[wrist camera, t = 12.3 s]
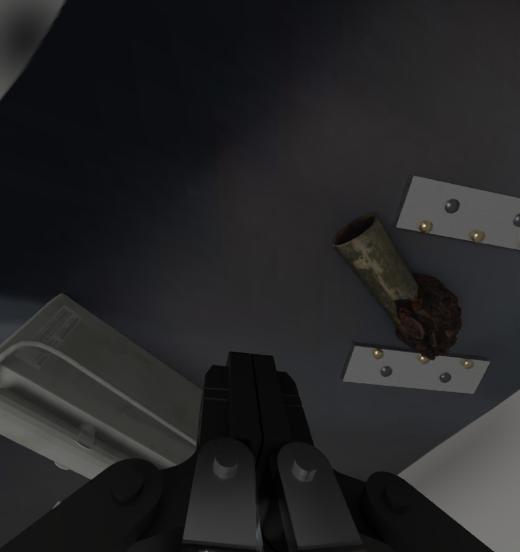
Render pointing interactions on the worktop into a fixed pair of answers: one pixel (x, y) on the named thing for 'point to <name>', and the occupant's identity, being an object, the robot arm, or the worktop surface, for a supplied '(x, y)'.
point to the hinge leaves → (452, 223)
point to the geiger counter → (92, 394)
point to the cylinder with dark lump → (401, 288)
